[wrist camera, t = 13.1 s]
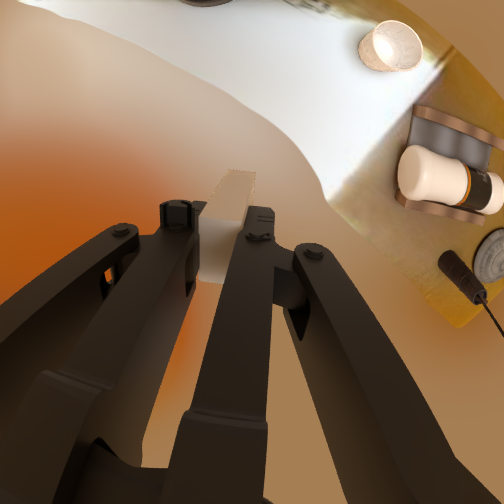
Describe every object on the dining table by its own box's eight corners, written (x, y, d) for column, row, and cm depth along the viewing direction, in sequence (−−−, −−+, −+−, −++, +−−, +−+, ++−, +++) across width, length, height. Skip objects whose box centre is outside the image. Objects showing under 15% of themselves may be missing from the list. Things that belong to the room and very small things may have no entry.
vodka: (420, 197, 38) (529, 225, 37) (421, 138, 36) (530, 179, 36) (394, 199, 47) (501, 222, 46) (396, 148, 46) (503, 181, 45)
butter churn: (470, 262, 54) (531, 346, 30) (440, 285, 58) (492, 377, 34) (459, 235, 52) (531, 321, 27) (427, 261, 55) (486, 357, 31)
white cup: (403, 48, 35) (430, 41, 27) (387, 82, 39) (412, 81, 31) (364, 24, 34) (383, 10, 26) (347, 59, 38) (364, 51, 30)
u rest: (394, 197, 50) (404, 207, 45) (413, 104, 40) (426, 106, 36) (470, 215, 49) (482, 225, 45) (491, 136, 40) (506, 141, 36)
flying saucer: (517, 222, 48) (529, 232, 43) (507, 272, 55) (517, 284, 50) (475, 231, 51) (487, 243, 46) (467, 285, 58) (476, 298, 53)
